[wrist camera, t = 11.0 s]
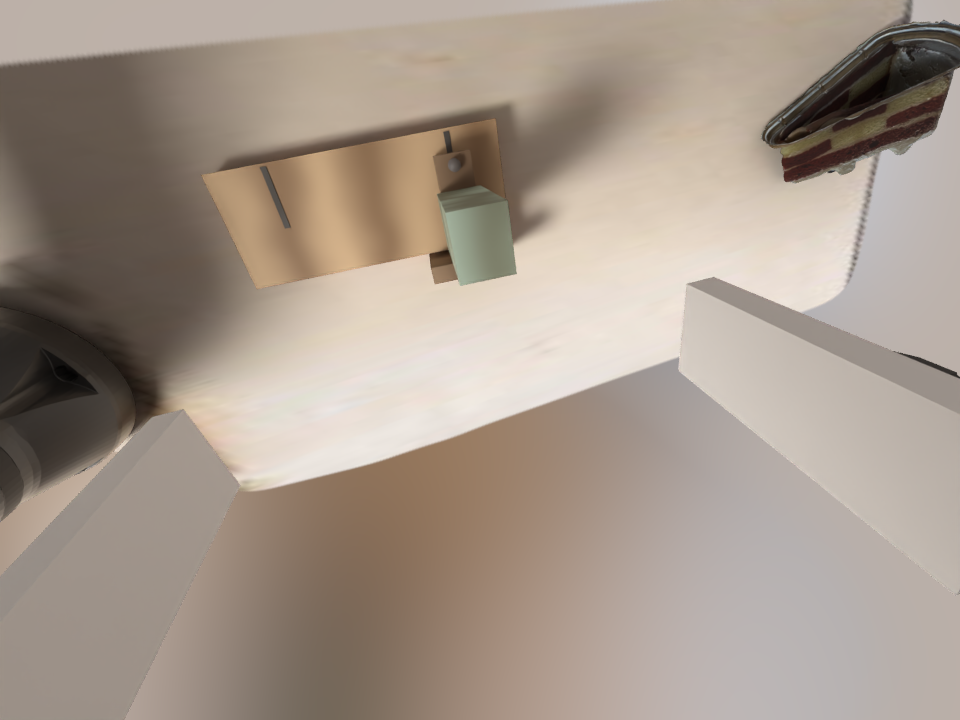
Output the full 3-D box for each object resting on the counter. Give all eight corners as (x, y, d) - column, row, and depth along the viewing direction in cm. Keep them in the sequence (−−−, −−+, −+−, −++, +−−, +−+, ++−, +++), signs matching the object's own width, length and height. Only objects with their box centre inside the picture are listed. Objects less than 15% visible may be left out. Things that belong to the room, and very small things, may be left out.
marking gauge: (432, 268, 31) (440, 330, 21) (407, 160, 27) (401, 167, 17) (503, 253, 32) (547, 306, 21) (488, 144, 28) (534, 141, 17)
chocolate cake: (763, 217, 34) (976, 175, 26) (760, 150, 29) (1022, 75, 22) (762, 146, 37) (950, 91, 30) (760, 75, 33) (984, -10, 25)
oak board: (265, 281, 31) (256, 289, 29) (215, 173, 27) (200, 175, 25) (505, 231, 32) (510, 236, 30) (490, 120, 28) (495, 118, 26)
